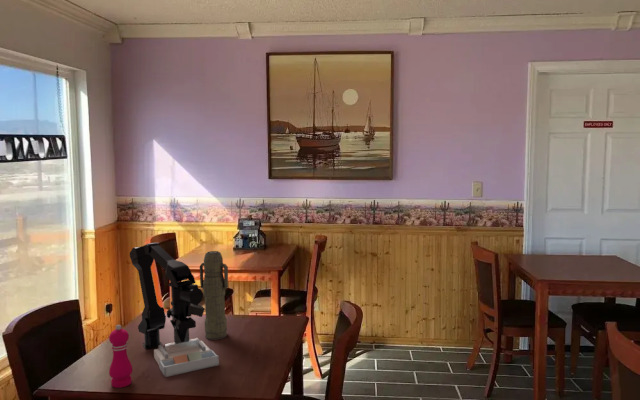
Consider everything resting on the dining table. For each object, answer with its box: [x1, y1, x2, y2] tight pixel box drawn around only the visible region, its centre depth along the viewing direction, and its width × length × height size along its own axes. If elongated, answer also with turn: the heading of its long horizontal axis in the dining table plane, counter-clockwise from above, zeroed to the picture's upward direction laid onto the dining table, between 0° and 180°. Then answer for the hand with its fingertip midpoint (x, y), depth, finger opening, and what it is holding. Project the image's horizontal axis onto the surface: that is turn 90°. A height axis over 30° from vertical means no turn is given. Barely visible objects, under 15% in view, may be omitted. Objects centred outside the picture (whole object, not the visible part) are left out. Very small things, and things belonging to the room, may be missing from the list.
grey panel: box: [164, 328, 200, 354], centre depth 195 cm, size 2×12×8 cm, turn 119°
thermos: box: [199, 250, 229, 341], centre depth 217 cm, size 9×12×35 cm
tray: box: [158, 349, 220, 378], centre depth 188 cm, size 8×19×4 cm, turn 119°
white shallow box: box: [153, 339, 211, 365], centre depth 196 cm, size 11×18×4 cm, turn 119°
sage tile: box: [187, 352, 202, 361], centre depth 190 cm, size 4×4×1 cm
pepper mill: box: [108, 324, 134, 389], centre depth 175 cm, size 7×7×20 cm
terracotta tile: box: [173, 354, 188, 364], centre depth 188 cm, size 4×4×1 cm
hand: (181, 340), depth 196 cm, fingers closed on grey panel, 2 cm apart
